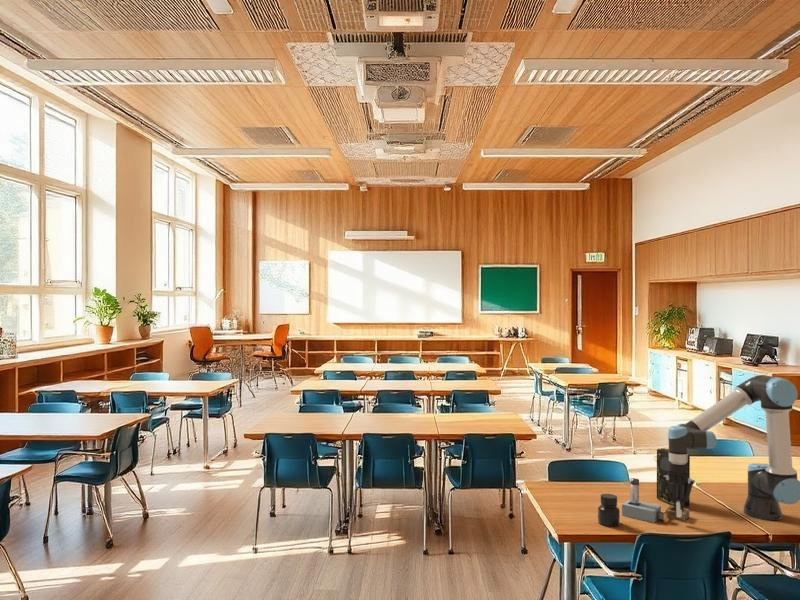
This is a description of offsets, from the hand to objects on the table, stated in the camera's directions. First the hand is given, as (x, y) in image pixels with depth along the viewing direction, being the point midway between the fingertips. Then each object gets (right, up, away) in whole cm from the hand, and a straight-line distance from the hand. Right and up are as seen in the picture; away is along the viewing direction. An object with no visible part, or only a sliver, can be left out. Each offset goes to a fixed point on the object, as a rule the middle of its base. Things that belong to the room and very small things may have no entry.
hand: (679, 516), depth 256 cm
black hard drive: (+11, -4, +28) cm, 31 cm away
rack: (+3, -4, +8) cm, 10 cm away
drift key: (-7, -3, +5) cm, 10 cm away
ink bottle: (-31, -3, 0) cm, 31 cm away
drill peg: (-15, -4, +12) cm, 19 cm away
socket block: (-12, -3, +10) cm, 16 cm away
